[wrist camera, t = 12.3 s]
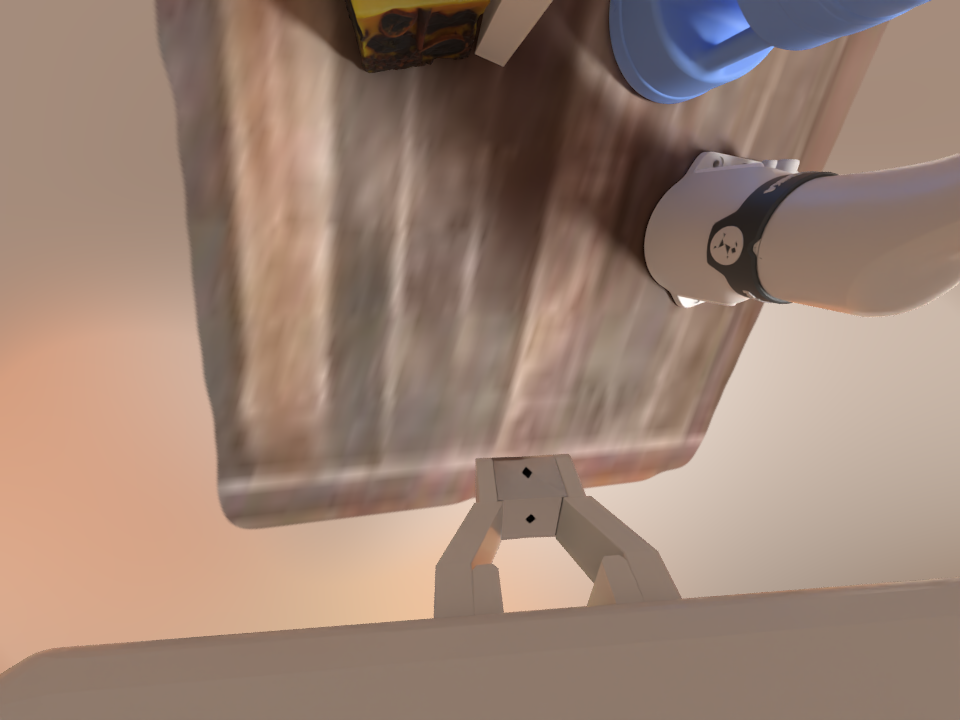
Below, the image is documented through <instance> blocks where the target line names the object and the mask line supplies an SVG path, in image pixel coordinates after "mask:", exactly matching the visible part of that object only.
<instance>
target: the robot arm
mask: <svg viewBox="0 0 960 720" xmlns="http://www.w3.org/2000/svg"><path fill="white" fill-rule="evenodd" d="M713 163H714V167H713ZM799 163H800V162H799V160H795V159H784V160H764V161H762V162H759V161H755V160H750V159H745V158H741V157H736V156H731V155H727V154H722V153H717V152H703V153H701V154H700V155H698V157H697V158H696V159H695V160H694V162H693V163H692V165H691V167H690V168H689V170H688V172H687V173H686V175H685V176H684V177H683V178H682V179H681V180H680V181H679V182H677V183H676V184H675V185H674V186H673V187H671V188H670V189H669V190H668V191H667V192H666V193H665V195H664V196H663V197H662V198H661V200H660V201H659V203H658V204H657V206H656V207H655V209H654V211H653V213H652V215H651V218H650V220H649V223H648V226H647V230H646V235H645V243H644V252H645V260H646V264H647V267H648V269H649V272H650V273H651V275H652V277H653V278H654V279H655V281H656V282H657V283H658V284H660V285H661V286H662V287H664V288H665V289H667V290H668V291H669V292H670V293H671V295H672V297H673V299H674V301H675V303H676V304H677V305H678V306H679V307H683V308H689V307H692V306H695V305H698V304H701V303H703V302H710V303H716V304H721V305H726V306H734V305H735V304H736V303H739V302H743V301H745V300H747V299H749V298H752V299H754V300H757V301H761V302H767V303H778V304H788V303H793V302H794V303H798V304H803V305H808V306H813V307H818V308H822V309H827V310H832V311H837V312H842V313H847V314H851V315H856V316H861V317H882V316H890V315H897V314H901V313H905V312H908V311H912V310H914V309H917V308H919V307H922V306H924V305H926V304H928V303H930V302H932V301H934V300H935V299H937V298H938V297H940V296H942V295H943V294H945V293H946V292H948V291H949V290H951V289H952V288H953V287H955V286H956V285H957V284H959V283H960V153H957V154H954V155H951V156H948V157H944V158H941V159H937V160H933V161H929V162H925V163H919V164H914V165H908V166H903V167H898V168H891V169H885V170H878V171H872V172H864V173H856V174H847V175H838V174H835V173H831V172H816V171H815V172H813V171H811V172H799V173H798V171H797V169H798V166H799ZM475 484H476V503H474V505H473V506H472V508H471V510H470V511H469V513H468V514H467V516H466V518H465V519H464V521H463V523H462V524H461V526H460V528H459V529H458V531H457V532H456V534H455V536H454V537H453V539H452V540H451V542H450V544H449V545H448V547H447V549H446V550H445V552H444V553H443V555H442V557H441V558H440V560H439V562H438V563H437V565H436V572H435V573H436V574H435V597H434V598H435V600H434V618H432V619H420V620H407V621H395V622H382V623H369V624H357V625H344V626H332V627H319V628H306V629H293V630H280V631H268V632H255V633H242V634H229V635H217V636H204V637H191V638H179V639H165V640H152V641H141V642H127V643H114V644H101V645H87V646H74V647H61V648H53V649H48V650H44V651H41V652H38V653H35V654H33V655H31V656H29V657H27V658H26V659H24V660H22V661H21V662H19V663H17V664H16V665H14V666H12V667H11V668H9V669H8V670H6V671H4V672H3V673H1V674H0V720H960V577H951V578H938V579H926V580H914V581H900V582H888V583H875V584H862V585H850V586H837V587H824V588H813V589H799V590H787V591H774V592H761V593H750V594H736V595H724V596H711V597H699V598H687V599H682V598H681V596H680V594H679V592H678V590H677V588H676V586H675V584H674V582H673V580H672V578H671V576H670V574H669V572H668V570H667V568H666V566H665V564H664V562H663V561H662V558H661V556H660V555H659V553H658V551H657V550H655V548H653V547H652V546H651V545H650V544H648V543H647V542H646V541H645V540H644V539H642V538H641V537H640V536H639V535H638V534H636V533H635V532H634V531H633V530H631V529H630V528H629V527H628V526H627V525H625V524H624V523H623V522H622V521H621V520H619V519H618V518H617V517H616V516H615V515H613V514H612V513H611V512H610V511H608V510H607V509H606V508H605V507H604V506H602V505H601V504H600V503H599V502H598V501H596V500H595V499H594V498H593V497H591V496H586V495H585V492H584V489H583V487H582V484H581V482H580V479H579V476H578V474H577V471H576V469H575V466H574V464H573V461H572V459H571V456H570V455H569V454H558V455H540V456H524V457H501V458H476V472H475ZM528 537H556V539H557V540H558V541H559V543H560V544H561V545H562V546H563V547H564V549H565V550H566V551H567V552H568V553H569V554H570V556H571V557H572V558H573V559H574V560H575V561H576V563H577V564H578V565H579V566H580V567H581V569H582V570H583V571H584V572H585V573H586V575H587V576H588V577H589V578H590V579H591V580H592V582H593V583H594V586H593V589H592V592H591V595H590V598H589V601H588V604H587V606H584V607H571V608H559V609H547V610H534V611H521V612H509V613H504V611H503V603H502V595H501V588H500V579H499V571H498V568H497V567H496V566H495V565H493V564H492V562H493V559H494V557H495V555H496V552H497V550H498V548H499V546H500V543H501V540H507V539H518V538H528Z"/></svg>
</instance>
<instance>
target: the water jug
mask: <svg viewBox="0 0 960 720" xmlns="http://www.w3.org/2000/svg"><path fill="white" fill-rule="evenodd" d="M928 1H930V0H610V10H609V28H610V38H611V44H612V48H613V52H614V56H615V59H616V62H617V64H618V66H619V69H620V71H621V72H622V74H623V76H624V78H625V79H626V80H627V82H628V83H629V84H630V86H631V87H632V88H633V89H634V90H635V91H636V92H638V93H639V94H640V95H642V96H643V97H645V98H647V99H649V100H651V101H654V102H658V103H663V104H674V103H680V102H684V101H687V100H689V99H692V98H695V97H697V96H699V95H702V94H704V93H706V92H707V91H709V90H710V89H713V88H715V87H718V86H720V85H723V84H725V83H728V82H730V81H733V80H735V79H737V78H739V77H741V76H743V75H745V74H746V73H748V72H749V71H751V70H752V69H753V68H754V67H756V66H757V65H758V64H759V63H760V62H761V61H762V60H763V59H764V58H765V57H766V56H767V54H768V53H769V52H770V51H771V50H772V49H773V48H774V47H777V48H781V49H786V50H806V49H811V48H814V47H817V46H820V45H822V44H825V43H827V42H830V41H832V40H834V39H837V38H839V37H842V36H847V35H851V34H854V33H857V32H860V31H863V30H866V29H868V28H871V27H873V26H876V25H878V24H881V23H883V22H886V21H888V20H891V19H893V18H895V17H897V16H899V15H901V14H903V13H905V12H907V11H909V10H911V9H912V8H914V7H916V6H919V5H921V4H924V3H926V2H928Z"/></svg>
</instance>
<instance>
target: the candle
mask: <svg viewBox="0 0 960 720" xmlns="http://www.w3.org/2000/svg"><path fill="white" fill-rule="evenodd" d="M345 2H346V5H347V10H348V12H349V18H350V19H351V20H352V23H353V27H354V30H355V33H356V39H357V43H358V46H359V50H360V54H361V59H362V66H363V68H364V69H365V71H367V72H369V73H374V72H379V71H385V70H391V69H395V70H398V69H405V68H409V67H412V66H414V67H417V66H423V65H425V64H426V63H427V64H430V65H431V64H432V62H433V59H435V58H453V59H458V58H461V59H463V58H464V57H468V55H469V53H470V50H471V47H472V44H473V41H474V40H475V38H476V25H477V23H476V22H477V20H478V18H479V16H480V15H481V14H483V13H484V11H485V9H486V7H487V6H488V5H489V4H490V0H345Z"/></svg>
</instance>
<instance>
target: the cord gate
mask: <svg viewBox="0 0 960 720" xmlns="http://www.w3.org/2000/svg"><path fill="white" fill-rule="evenodd" d="M552 1H553V0H490V4H489V5H488V6H487V7H486V9H485V11H484V13H483V18H482V23H481V27H480V32H479V36H478V41H477V45H476V50H475V54H476V55H478V56H480V57H482V58H485V59H487V60H489V61H491V62H494V63H496V64H498V65H500V66H502V67H504V65H505V64H506V63H507V61H508V60H509V59H510V57H511V56H512V55H513V53H514V52H515V51H516V49H517V48H518V47H519V45H520V44H521V43H522V41H523V40H524V39H525V37H526V36H527V35H528V33H529V32H530V31H531V29H532V28H533V26H534V25H535V24H536V22H537V21H538V20H539V18H540V17H541V16H542V14H543V13H544V12H545V10H546V9H547V8H548V6H549V5H550V4H551V2H552Z"/></svg>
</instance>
